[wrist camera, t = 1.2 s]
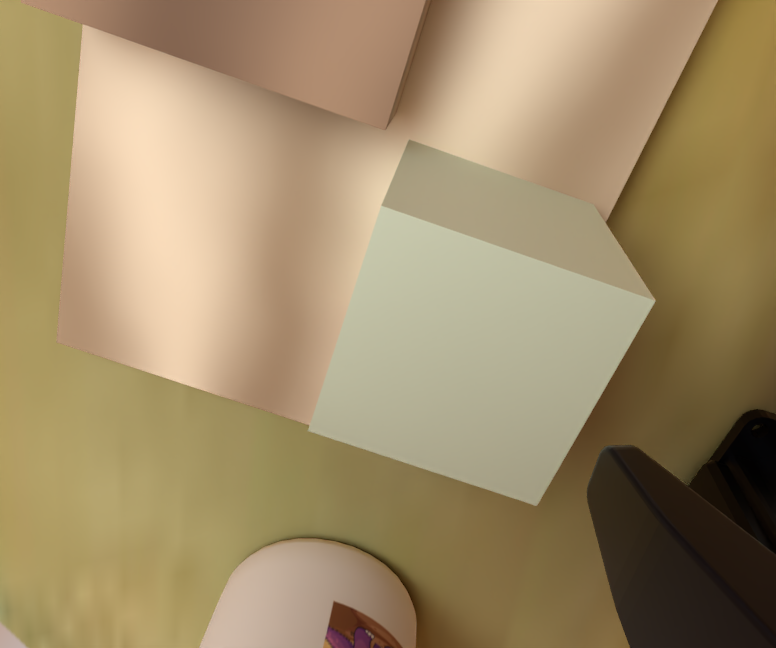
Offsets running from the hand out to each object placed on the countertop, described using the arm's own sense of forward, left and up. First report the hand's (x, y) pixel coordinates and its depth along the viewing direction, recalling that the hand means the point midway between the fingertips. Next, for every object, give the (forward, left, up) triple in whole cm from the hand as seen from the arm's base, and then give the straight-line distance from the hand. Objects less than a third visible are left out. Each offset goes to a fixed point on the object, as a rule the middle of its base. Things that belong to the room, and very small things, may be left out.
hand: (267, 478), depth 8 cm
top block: (-3, 0, -10) cm, 11 cm away
